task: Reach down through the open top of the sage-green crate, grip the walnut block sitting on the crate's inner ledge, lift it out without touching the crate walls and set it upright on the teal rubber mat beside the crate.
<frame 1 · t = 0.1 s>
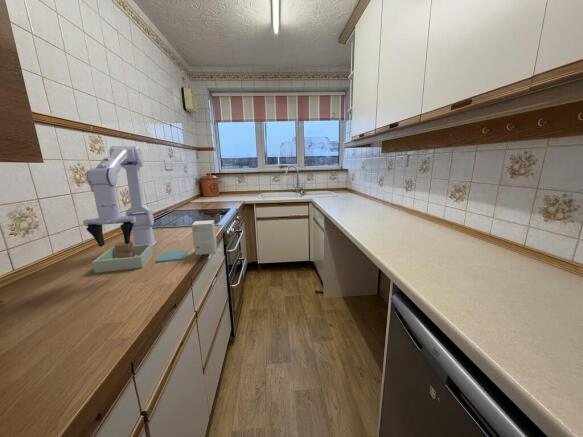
hand: (114, 244, 83), 10 cm above the countertop, tool pointing down, fingers open, 7 cm apart
teal mat: (172, 256, 98), on the countertop
crate: (127, 263, 94), on the countertop, touching walnut block
walnut block: (126, 258, 93), point 2 cm above the countertop, touching crate
small box: (206, 252, 103), on the countertop
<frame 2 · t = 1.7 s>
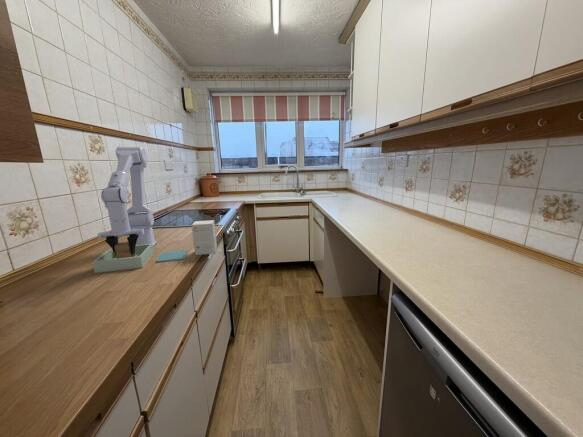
hand: (125, 254, 93), 3 cm above the countertop, tool pointing down, fingers closed on walnut block, 4 cm apart
crate: (127, 262, 94), on the countertop
walnut block: (126, 258, 93), point 2 cm above the countertop, touching gripper
everything else where it was.
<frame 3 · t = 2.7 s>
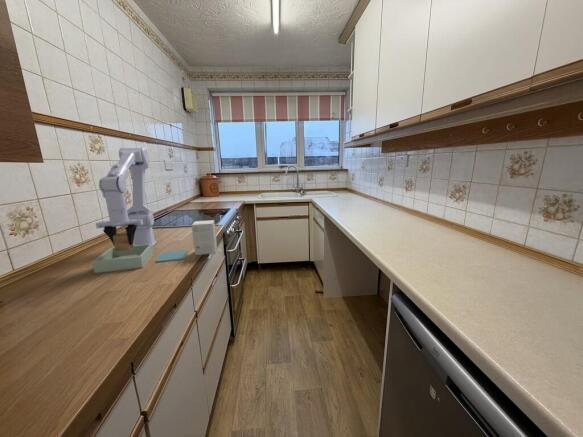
hand: (124, 244, 92), 7 cm above the countertop, tool pointing down, fingers closed on walnut block, 4 cm apart
walnut block: (124, 248, 92), point 5 cm above the countertop, touching gripper
everything else where it was.
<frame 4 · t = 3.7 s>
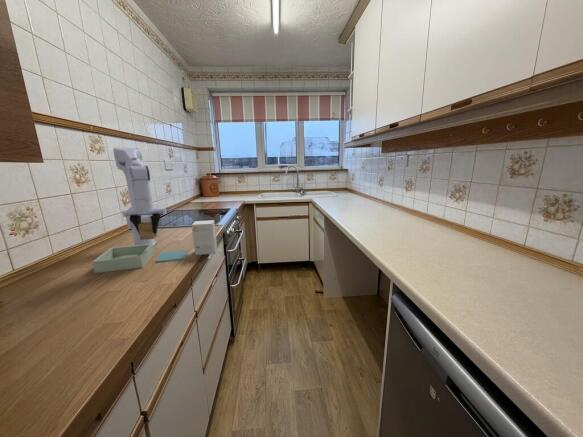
hand: (148, 233, 94), 10 cm above the countertop, tool pointing down, fingers closed on walnut block, 4 cm apart
walnut block: (148, 237, 94), point 9 cm above the countertop, touching gripper
everything else where it was.
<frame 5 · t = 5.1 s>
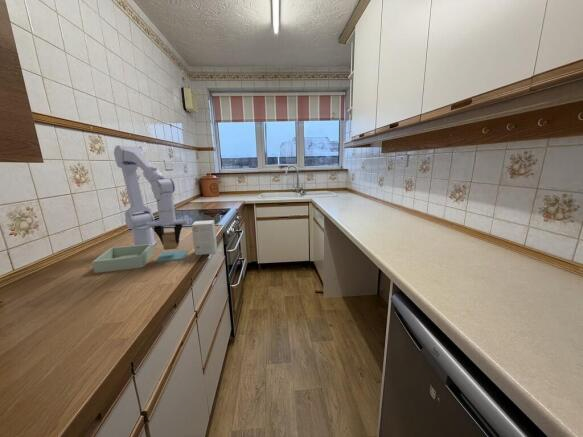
hand: (170, 243, 97), 5 cm above the countertop, tool pointing down, fingers closed on walnut block, 4 cm apart
walnut block: (171, 247, 97), point 4 cm above the countertop, touching gripper
everything else where it was.
when the fingers open (3 cm above the countertop, at t = 6.0 s): walnut block drops 1 cm, resting on teal mat.
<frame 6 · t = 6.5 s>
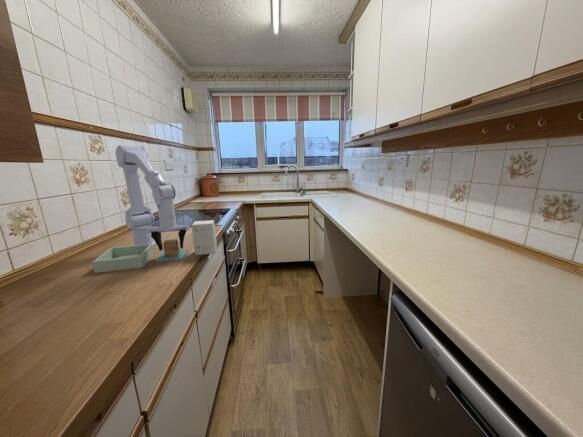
hand: (171, 248, 98), 3 cm above the countertop, tool pointing down, fingers open, 7 cm apart
walnut block: (172, 255, 98), resting on teal mat
everything else where it was.
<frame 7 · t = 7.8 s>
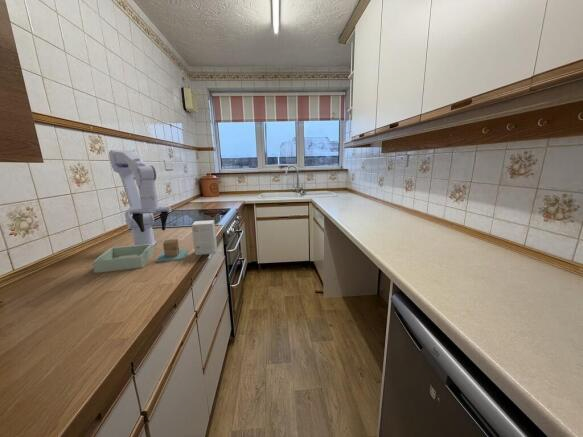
hand: (153, 230, 98), 10 cm above the countertop, tool pointing down, fingers open, 7 cm apart
nothing on the countertop moved.
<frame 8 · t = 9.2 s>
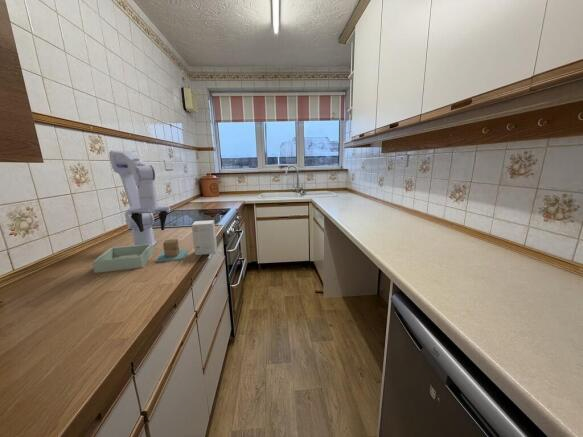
hand: (152, 230, 98), 10 cm above the countertop, tool pointing down, fingers open, 7 cm apart
nothing on the countertop moved.
at the end: walnut block inside the target area on the teal mat (0.1 cm from its centre), point 0.5 cm above the teal mat's base; walnut block tilted 0°; crate moved 0.4 cm from its start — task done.
